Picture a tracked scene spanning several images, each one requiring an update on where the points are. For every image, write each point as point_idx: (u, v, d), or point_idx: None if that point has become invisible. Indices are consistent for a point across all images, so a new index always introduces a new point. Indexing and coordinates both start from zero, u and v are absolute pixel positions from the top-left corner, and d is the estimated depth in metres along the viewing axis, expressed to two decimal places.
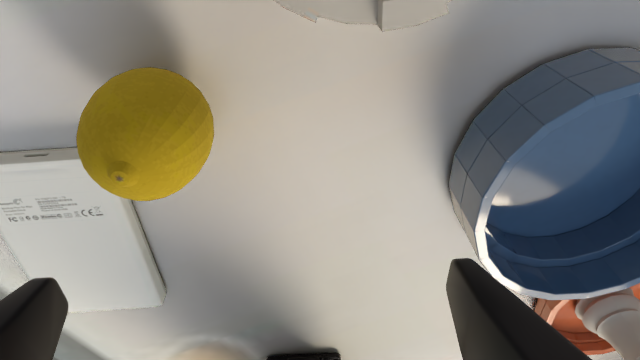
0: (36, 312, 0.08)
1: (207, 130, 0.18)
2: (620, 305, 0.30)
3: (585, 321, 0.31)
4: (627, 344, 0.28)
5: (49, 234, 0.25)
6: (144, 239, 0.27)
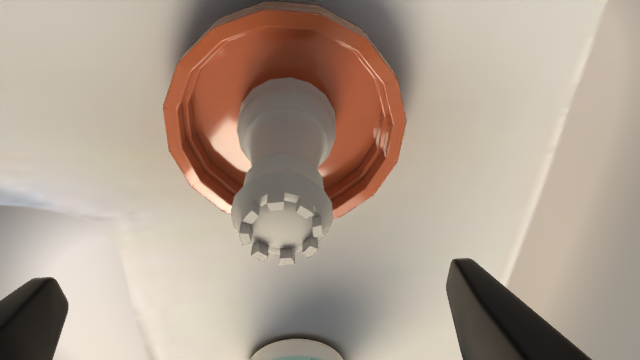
0: (36, 312, 0.08)
1: None
2: (295, 101, 0.16)
3: (238, 128, 0.17)
4: (265, 148, 0.15)
5: None
6: None
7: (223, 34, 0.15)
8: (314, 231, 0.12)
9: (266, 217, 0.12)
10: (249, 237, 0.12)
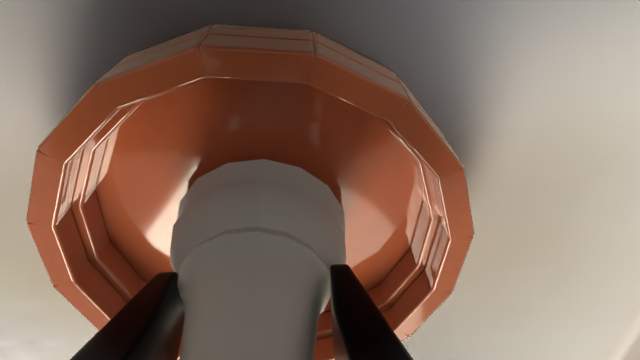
0: (169, 306, 0.08)
1: None
2: (270, 213, 0.09)
3: (170, 251, 0.10)
4: (200, 339, 0.07)
5: None
6: None
7: (119, 96, 0.07)
8: None
9: None
10: None
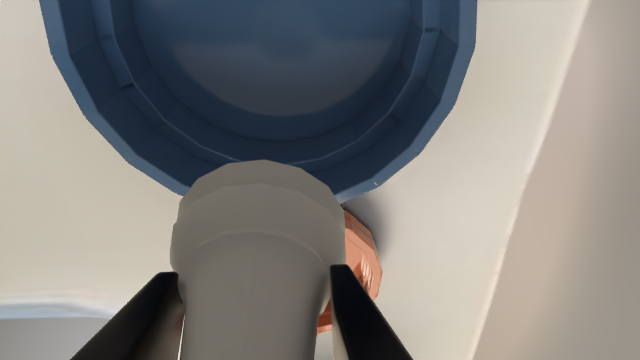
0: (169, 306, 0.08)
1: None
2: (270, 214, 0.09)
3: (170, 252, 0.10)
4: (200, 340, 0.07)
5: None
6: None
7: None
8: None
9: None
10: None
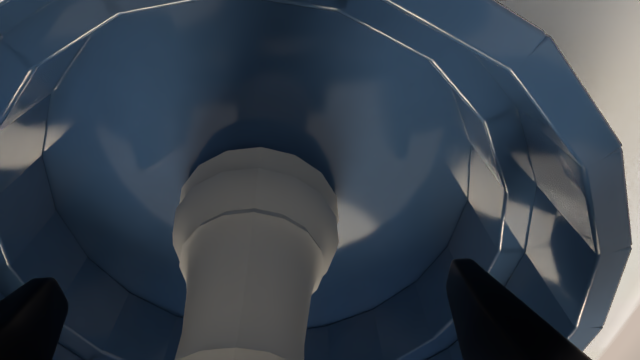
0: (36, 312, 0.08)
1: None
2: (266, 196, 0.09)
3: (173, 233, 0.10)
4: (202, 308, 0.08)
5: None
6: None
7: None
8: None
9: None
10: None
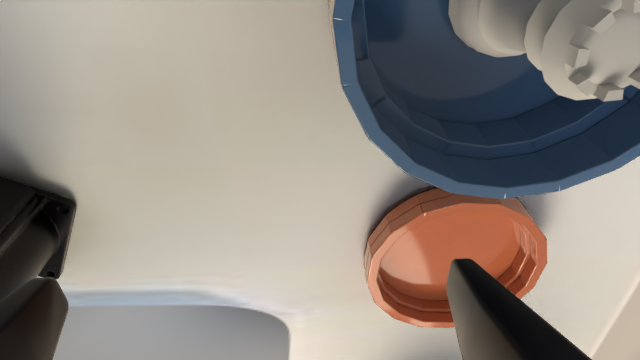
0: (36, 312, 0.08)
1: None
2: None
3: None
4: None
5: None
6: None
7: (429, 216, 0.21)
8: None
9: (609, 30, 0.10)
10: (587, 56, 0.10)
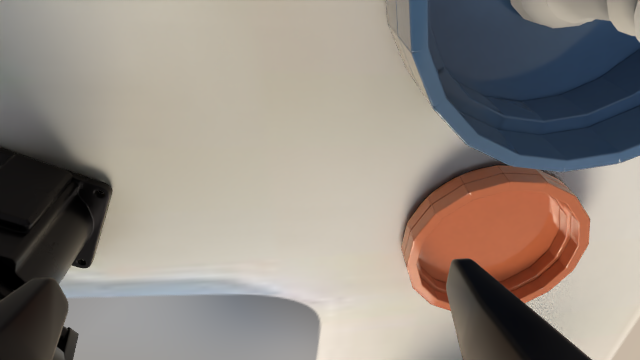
0: (36, 312, 0.08)
1: None
2: None
3: None
4: None
5: None
6: None
7: (474, 196, 0.21)
8: None
9: None
10: None
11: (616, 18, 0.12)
